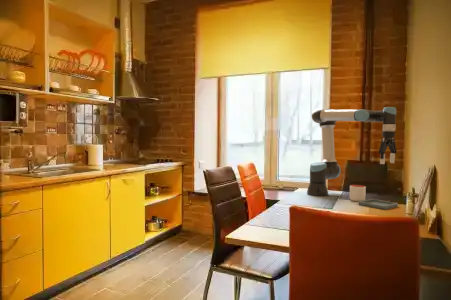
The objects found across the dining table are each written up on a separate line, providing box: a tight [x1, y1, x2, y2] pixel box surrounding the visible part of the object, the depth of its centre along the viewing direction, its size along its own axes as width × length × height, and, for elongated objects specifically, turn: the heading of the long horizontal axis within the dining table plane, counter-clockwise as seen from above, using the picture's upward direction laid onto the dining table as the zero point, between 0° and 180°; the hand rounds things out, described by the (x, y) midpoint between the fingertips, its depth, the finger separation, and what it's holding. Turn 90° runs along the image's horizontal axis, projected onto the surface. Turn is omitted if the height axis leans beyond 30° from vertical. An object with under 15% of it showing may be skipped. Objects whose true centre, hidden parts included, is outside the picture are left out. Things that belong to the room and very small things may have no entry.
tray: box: [358, 198, 399, 211], centre depth 206 cm, size 17×17×2 cm
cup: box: [348, 184, 367, 203], centre depth 223 cm, size 10×10×10 cm
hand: (387, 163), depth 215 cm, fingers open, 13 cm apart
